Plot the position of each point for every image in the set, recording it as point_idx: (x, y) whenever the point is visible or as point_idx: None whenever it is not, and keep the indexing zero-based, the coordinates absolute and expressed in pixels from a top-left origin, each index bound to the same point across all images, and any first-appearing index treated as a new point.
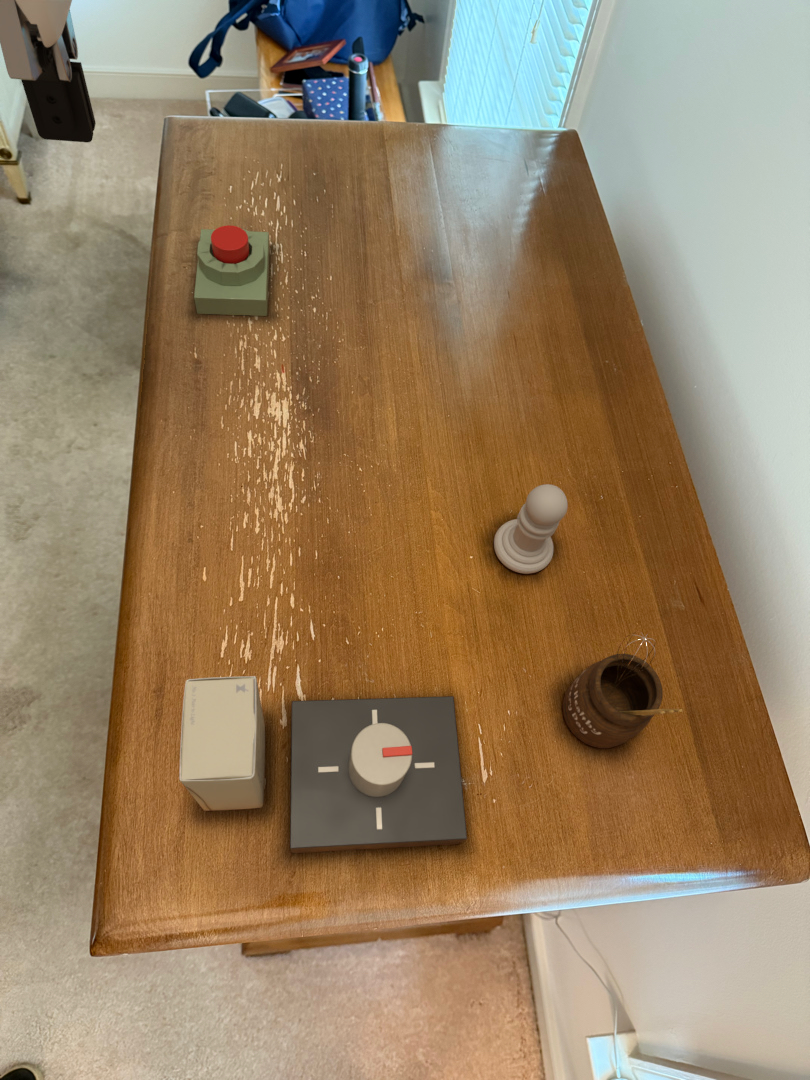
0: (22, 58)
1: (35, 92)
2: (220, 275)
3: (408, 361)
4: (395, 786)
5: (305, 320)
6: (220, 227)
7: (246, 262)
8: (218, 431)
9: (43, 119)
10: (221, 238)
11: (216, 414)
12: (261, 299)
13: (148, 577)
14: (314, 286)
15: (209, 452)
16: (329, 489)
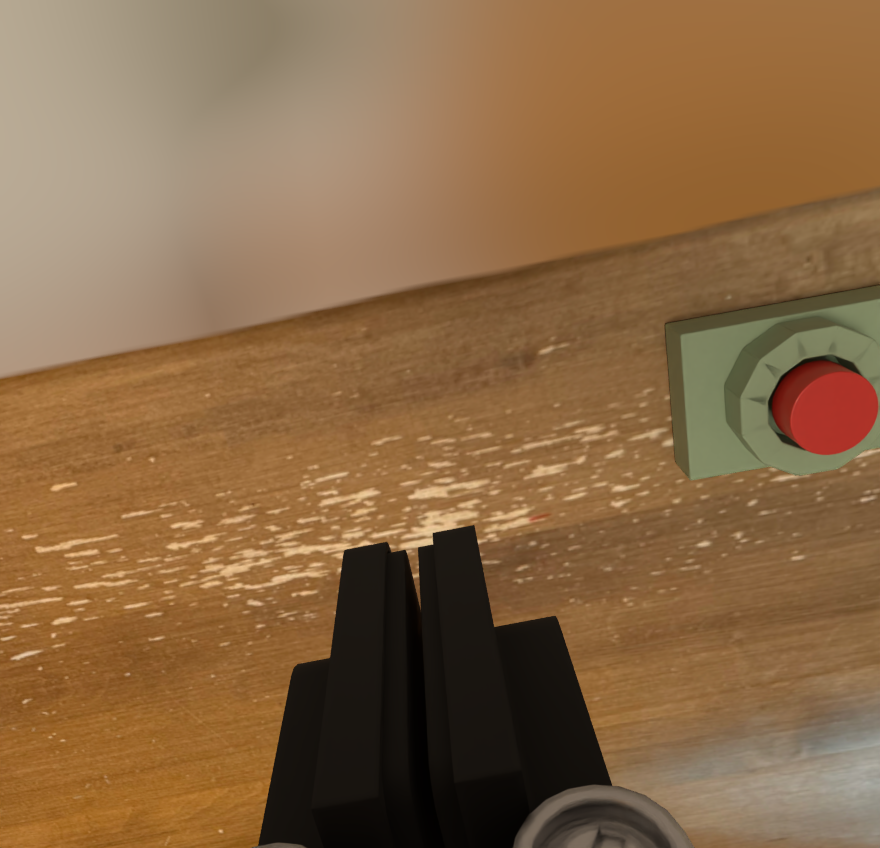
0: None
1: (263, 828)
2: (735, 393)
3: (593, 712)
4: None
5: (673, 532)
6: (869, 386)
7: (774, 446)
8: (363, 438)
9: (290, 695)
10: (829, 397)
11: (403, 425)
12: (690, 472)
13: (24, 399)
14: (771, 532)
15: (311, 434)
16: (286, 636)
